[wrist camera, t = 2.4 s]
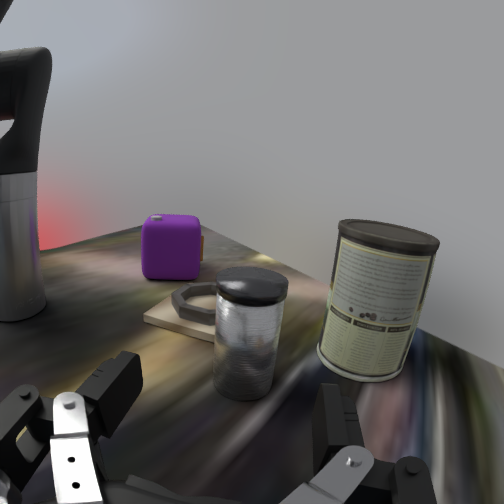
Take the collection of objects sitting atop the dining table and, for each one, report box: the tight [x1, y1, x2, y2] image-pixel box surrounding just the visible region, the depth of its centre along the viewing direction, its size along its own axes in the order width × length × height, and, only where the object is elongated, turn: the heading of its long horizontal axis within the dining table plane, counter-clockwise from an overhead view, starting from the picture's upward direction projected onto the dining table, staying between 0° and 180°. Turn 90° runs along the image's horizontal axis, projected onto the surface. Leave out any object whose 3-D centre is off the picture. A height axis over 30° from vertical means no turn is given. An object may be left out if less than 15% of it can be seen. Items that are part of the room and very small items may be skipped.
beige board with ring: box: [143, 282, 217, 343], centre depth 37 cm, size 12×12×2 cm
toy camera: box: [141, 214, 204, 280], centre depth 51 cm, size 11×14×10 cm
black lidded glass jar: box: [213, 267, 288, 401], centre depth 24 cm, size 5×5×10 cm
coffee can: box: [317, 219, 440, 382], centre depth 29 cm, size 10×10×14 cm
